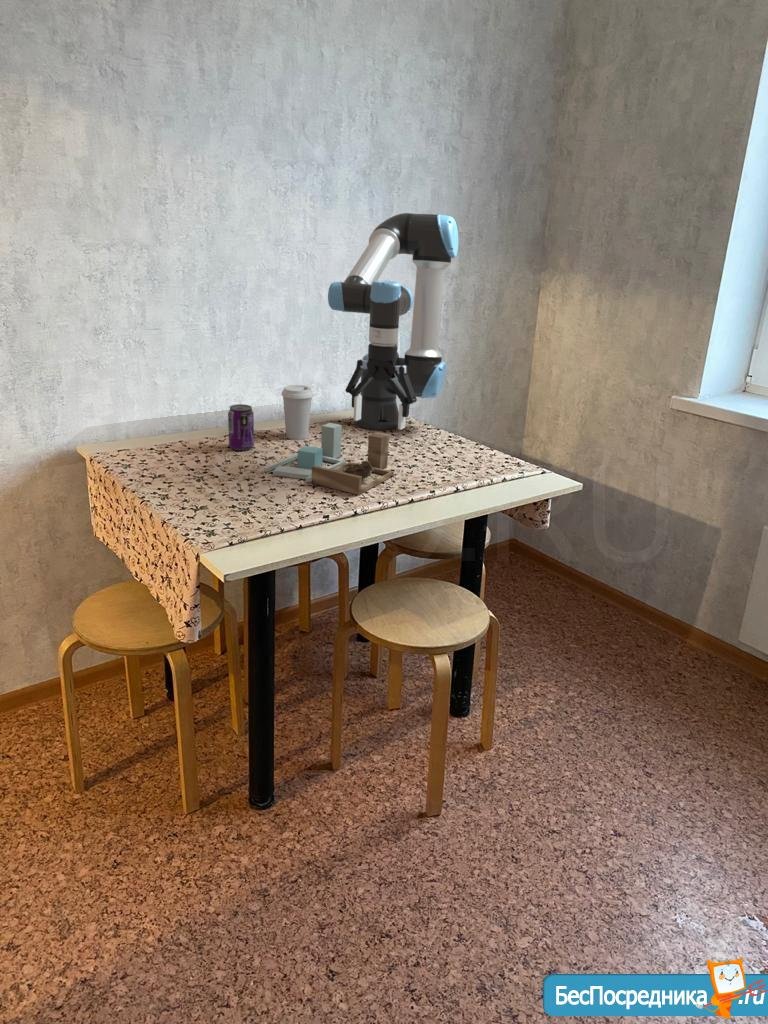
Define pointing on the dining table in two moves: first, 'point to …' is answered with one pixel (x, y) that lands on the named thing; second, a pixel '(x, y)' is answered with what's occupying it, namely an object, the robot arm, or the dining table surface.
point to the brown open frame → (350, 481)
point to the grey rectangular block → (292, 472)
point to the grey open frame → (328, 445)
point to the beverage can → (241, 427)
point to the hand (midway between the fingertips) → (379, 424)
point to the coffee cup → (297, 410)
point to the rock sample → (360, 469)
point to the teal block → (309, 457)
